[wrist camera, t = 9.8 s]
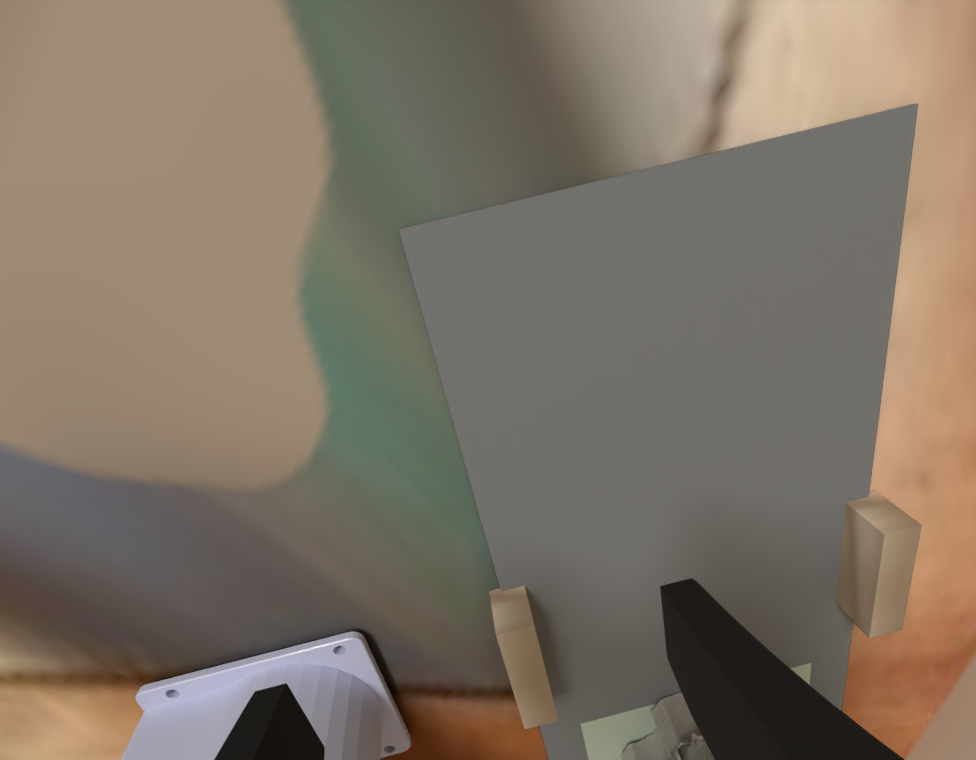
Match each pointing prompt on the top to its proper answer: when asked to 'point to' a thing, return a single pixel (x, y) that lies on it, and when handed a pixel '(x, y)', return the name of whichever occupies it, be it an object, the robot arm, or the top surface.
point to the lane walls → (860, 593)
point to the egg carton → (671, 735)
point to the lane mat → (673, 400)
